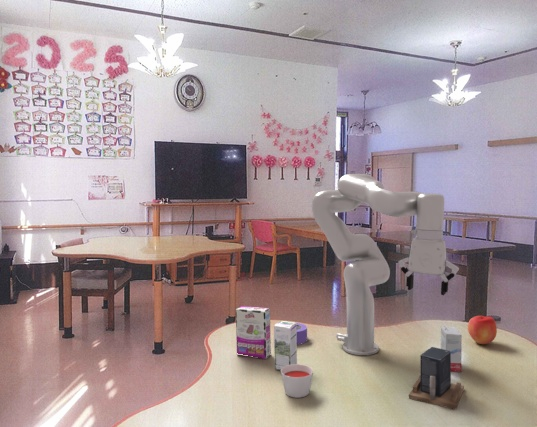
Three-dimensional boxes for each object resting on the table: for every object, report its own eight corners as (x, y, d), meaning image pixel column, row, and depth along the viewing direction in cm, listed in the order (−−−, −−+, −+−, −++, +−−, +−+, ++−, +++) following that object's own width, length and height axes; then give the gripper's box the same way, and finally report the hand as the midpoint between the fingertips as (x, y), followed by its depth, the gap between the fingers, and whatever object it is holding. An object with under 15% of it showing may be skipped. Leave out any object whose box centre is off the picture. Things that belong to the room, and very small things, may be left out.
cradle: (408, 398, 122) (408, 373, 121) (420, 380, 133) (420, 357, 132) (456, 409, 115) (456, 382, 115) (463, 389, 126) (464, 365, 126)
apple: (498, 341, 163) (498, 314, 163) (495, 349, 155) (495, 321, 155) (469, 337, 168) (469, 311, 168) (465, 344, 160) (465, 317, 160)
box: (431, 382, 129) (431, 346, 128) (451, 387, 125) (451, 351, 124) (419, 391, 123) (419, 354, 123) (440, 398, 119) (440, 359, 119)
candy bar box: (271, 354, 154) (270, 307, 153) (266, 359, 150) (265, 311, 149) (242, 350, 159) (241, 305, 158) (236, 355, 154) (235, 308, 153)
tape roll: (278, 334, 176) (278, 321, 175) (308, 335, 174) (307, 322, 174) (274, 344, 164) (274, 331, 164) (306, 346, 163) (306, 332, 162)
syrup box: (297, 365, 144) (297, 321, 143) (290, 373, 139) (290, 327, 138) (281, 363, 147) (280, 319, 146) (274, 370, 141) (273, 325, 141)
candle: (303, 403, 120) (303, 380, 120) (275, 395, 125) (274, 373, 124) (318, 389, 128) (318, 368, 127) (291, 382, 132) (290, 361, 132)
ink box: (461, 372, 137) (462, 335, 137) (445, 371, 138) (445, 334, 138) (456, 361, 146) (456, 326, 145) (440, 360, 147) (440, 325, 146)
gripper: (396, 234, 134) (394, 289, 136) (457, 239, 124) (454, 299, 126) (403, 231, 140) (401, 284, 142) (462, 236, 131) (459, 293, 132)
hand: (426, 291), depth 134 cm, fingers open, 9 cm apart
